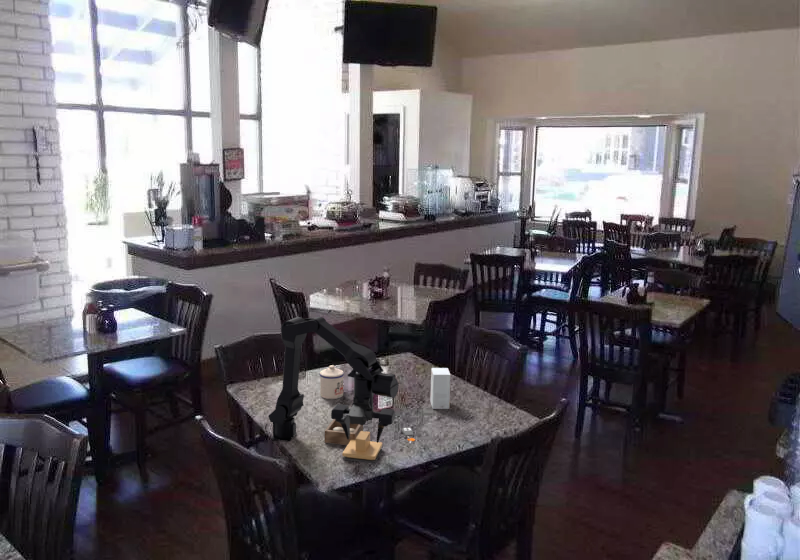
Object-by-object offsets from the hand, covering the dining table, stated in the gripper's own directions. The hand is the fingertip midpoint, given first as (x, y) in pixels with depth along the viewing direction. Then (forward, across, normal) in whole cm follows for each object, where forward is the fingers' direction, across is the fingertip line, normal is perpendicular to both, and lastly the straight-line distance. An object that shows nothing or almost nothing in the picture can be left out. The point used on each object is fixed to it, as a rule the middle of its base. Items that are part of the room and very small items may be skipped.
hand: (363, 440), depth 204 cm
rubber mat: (+5, 0, 0) cm, 5 cm away
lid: (+4, 0, 0) cm, 4 cm away
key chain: (+5, +12, +16) cm, 20 cm away
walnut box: (+5, -9, +10) cm, 15 cm away
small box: (+5, +17, +46) cm, 50 cm away
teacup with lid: (+5, -24, +48) cm, 53 cm away
